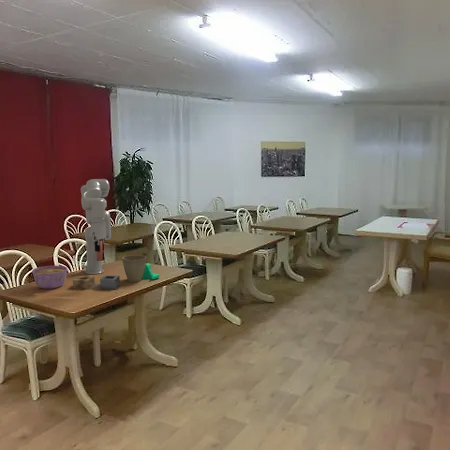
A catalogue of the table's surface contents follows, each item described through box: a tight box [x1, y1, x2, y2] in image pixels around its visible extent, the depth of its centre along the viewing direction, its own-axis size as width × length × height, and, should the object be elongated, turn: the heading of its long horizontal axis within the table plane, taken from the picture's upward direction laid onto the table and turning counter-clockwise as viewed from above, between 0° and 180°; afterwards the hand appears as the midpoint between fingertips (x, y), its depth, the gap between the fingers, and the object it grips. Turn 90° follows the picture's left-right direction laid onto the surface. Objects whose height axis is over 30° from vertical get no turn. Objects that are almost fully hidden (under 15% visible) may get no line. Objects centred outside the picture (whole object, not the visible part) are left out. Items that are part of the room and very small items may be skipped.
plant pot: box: [122, 254, 147, 283], centre depth 296 cm, size 15×15×16 cm
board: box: [70, 283, 123, 291], centre depth 281 cm, size 28×12×1 cm, turn 86°
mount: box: [72, 275, 96, 290], centre depth 281 cm, size 10×9×5 cm
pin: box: [97, 240, 104, 262], centre depth 277 cm, size 3×3×12 cm
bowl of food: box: [31, 265, 68, 290], centre depth 281 cm, size 20×20×12 cm
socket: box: [99, 274, 121, 289], centre depth 280 cm, size 9×9×6 cm
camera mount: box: [142, 262, 160, 280], centre depth 305 cm, size 12×8×10 cm, turn 56°
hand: (99, 250), depth 277 cm, fingers closed on pin, 3 cm apart
